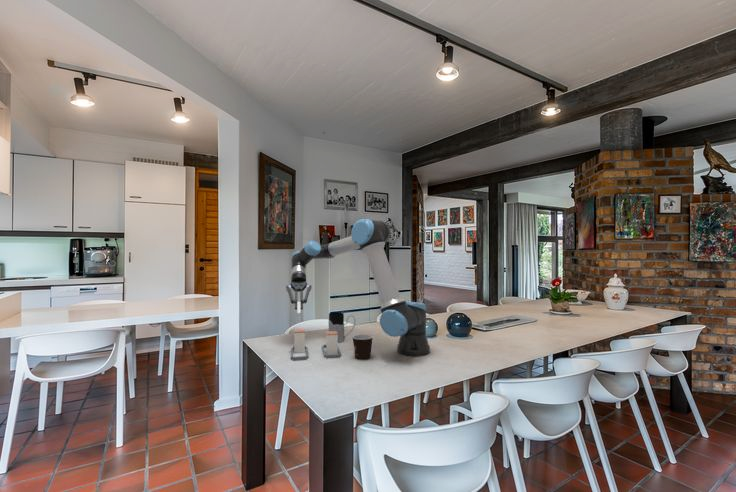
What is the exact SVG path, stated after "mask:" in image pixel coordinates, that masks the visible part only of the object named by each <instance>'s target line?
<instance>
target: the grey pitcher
mask: <svg viewBox="0 0 736 492" xmlns="http://www.w3.org/2000/svg"><path fill="white" fill-rule="evenodd" d="M344 317H345V313H344V312H330V313H328V332H331V331H337V333H338V344H342V343H344V342H345V339H346V337H347V336H348V335H350V333H351V332H353V330H354V328H355V326H356V321H354V323H353V326H352V328H351V329H350V331H349V332H348V333H346V335H345V325H348V320H349V318H350V317H352V318H353V319H354V320H356V317H355V315H348V316H347V318H346V323H344V322H345V321H344V320H345V318H344Z"/></svg>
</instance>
